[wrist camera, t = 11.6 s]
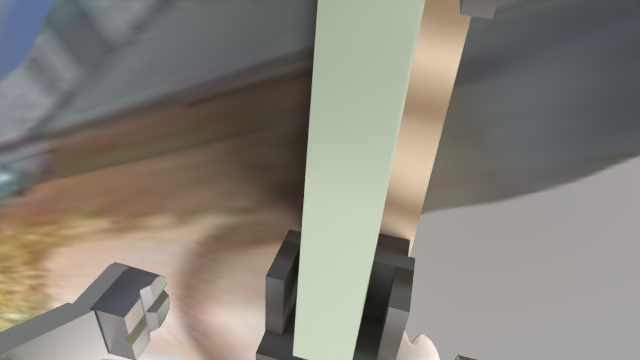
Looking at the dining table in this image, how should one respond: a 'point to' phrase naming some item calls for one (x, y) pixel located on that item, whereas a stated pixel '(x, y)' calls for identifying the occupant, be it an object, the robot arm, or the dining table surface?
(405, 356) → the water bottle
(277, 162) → the dining table surface
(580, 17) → the dining table surface
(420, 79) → the rail stand
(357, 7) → the rail
